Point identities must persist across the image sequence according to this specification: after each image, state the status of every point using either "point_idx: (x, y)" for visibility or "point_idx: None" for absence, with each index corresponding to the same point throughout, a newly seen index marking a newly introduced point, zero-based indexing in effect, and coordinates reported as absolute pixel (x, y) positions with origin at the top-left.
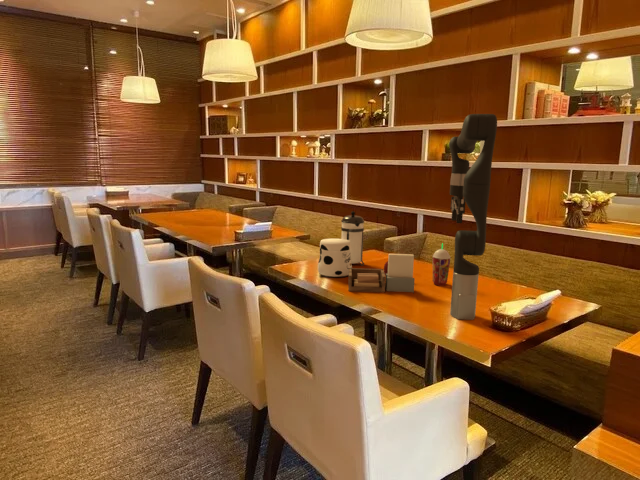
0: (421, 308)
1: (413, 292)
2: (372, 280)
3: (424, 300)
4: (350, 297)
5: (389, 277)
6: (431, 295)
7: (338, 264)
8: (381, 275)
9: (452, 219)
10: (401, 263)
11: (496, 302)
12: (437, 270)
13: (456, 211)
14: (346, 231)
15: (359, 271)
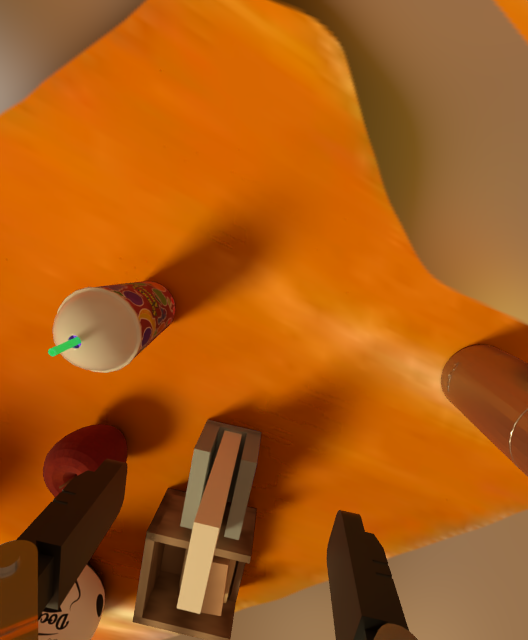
0: (392, 459)
1: (260, 435)
2: (228, 566)
3: (324, 424)
4: (273, 592)
5: (232, 531)
6: (279, 385)
7: (81, 634)
8: None
9: (116, 509)
10: (217, 538)
11: (381, 201)
12: (152, 340)
13: (35, 563)
14: None
15: (148, 588)
